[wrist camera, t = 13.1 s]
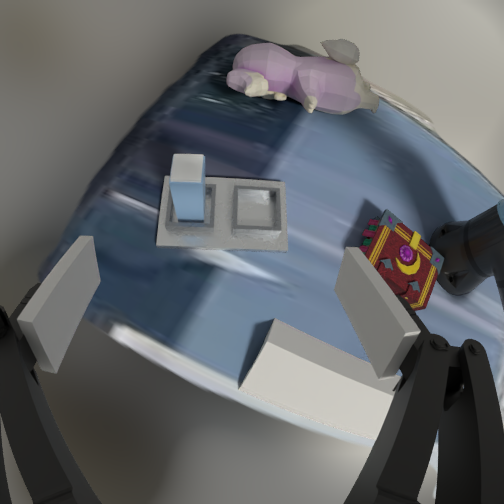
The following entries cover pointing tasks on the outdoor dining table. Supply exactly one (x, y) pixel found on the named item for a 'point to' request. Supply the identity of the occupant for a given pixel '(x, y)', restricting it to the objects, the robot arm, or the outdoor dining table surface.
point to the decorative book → (402, 259)
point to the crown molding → (319, 382)
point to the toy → (304, 77)
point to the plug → (188, 186)
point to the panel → (229, 218)
